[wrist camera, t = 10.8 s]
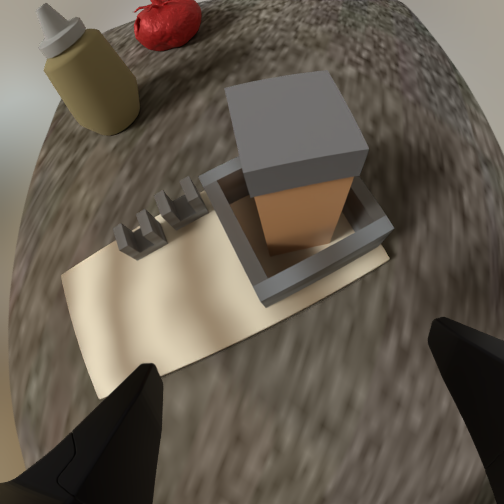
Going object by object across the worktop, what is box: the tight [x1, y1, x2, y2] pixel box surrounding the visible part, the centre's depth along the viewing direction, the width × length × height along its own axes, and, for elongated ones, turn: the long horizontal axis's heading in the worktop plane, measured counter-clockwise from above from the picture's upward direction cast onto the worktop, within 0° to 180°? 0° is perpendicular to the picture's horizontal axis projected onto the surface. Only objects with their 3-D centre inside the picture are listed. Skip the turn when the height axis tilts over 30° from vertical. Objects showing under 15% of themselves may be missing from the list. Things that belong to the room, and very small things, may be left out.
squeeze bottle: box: [36, 3, 140, 136], centre depth 21 cm, size 8×8×18 cm
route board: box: [61, 156, 394, 399], centre depth 21 cm, size 26×12×5 cm, turn 116°
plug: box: [225, 70, 369, 257], centre depth 17 cm, size 5×5×12 cm
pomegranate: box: [134, 0, 202, 51], centre depth 29 cm, size 10×10×9 cm
